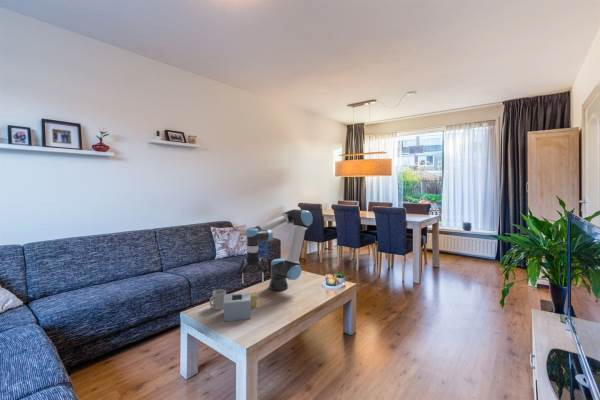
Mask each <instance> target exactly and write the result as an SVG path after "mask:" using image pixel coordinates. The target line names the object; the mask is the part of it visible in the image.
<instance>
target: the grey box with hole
mask: <svg viewBox="0 0 600 400" xmlns="http://www.w3.org/2000/svg"><path fill="white" fill-rule="evenodd" d="M251 311H252V309H251V307H250V292H249V291H248V292H235V293H226V294H224V309H223V322H232V321H242V320H244V321H245V320H251V319H252V317H251Z"/></svg>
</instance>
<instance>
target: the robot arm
mask: <svg viewBox="0 0 600 400" xmlns="http://www.w3.org/2000/svg"><path fill="white" fill-rule="evenodd" d="M313 219H314V218H313V215H312V213H311V212H310V211H309V210H306V209H290V210H288V211H285V212H283V213H281V214H280V215H279V216H276V217H274V218H272V219H270V220H268V221H265V222H263V223H261V224H258V225H256V226H254V227H247V228H246V229H245V235H246V251H247V252H246V257H247V258H242V261H241V263H240V266H239V268H238V270H237V274H240V279H241V281H242V282H241V283H242V284H244V272H245V271H246V270H247V268H249V266H252V267H253V266H257V267H258V268H259V269H260V270H261V274H262V275H261V276H262V277H261V278H262V280H261V282H262V283H265V281H264V279H265V277H266V273H268V272H269V270H268V268H267V265H266V264H265V261H264V258H263V257H261V258H259V243H260V242H266V241H270V240H272V239H273V237H274V235H273V234H274V233H273V230H276V229H277V228H279V227H282V226H284V225H285V226H288V225H289V224H290V225H291V224H293V228H294V230H293V234H292V238H291V242H290V247H289V251H288V255H287V258H274V259H272V260H271V262H270V272H271V273H270V274H271V275H270V281H269V284H268V289H269V290H270V291H273V292H274V291H275V292H282V291H286V290H287V289H289V284H288V281H287V280H291V281H296V280H298V278H300V276H301V273H302V267H301V266H300V264H301V262H300V255H301V252H302V247H303V243H304V239H305V238H304V237H305V233H306V230H308V229H309V226H311V225H312V224H313ZM259 262H261V264H262V265H261V264H260V263H259ZM245 263H246V265H245V266H244V264H245ZM243 266H244V267H243ZM263 267H264V268H263Z"/></svg>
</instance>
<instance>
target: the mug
mask: <svg viewBox="0 0 600 400" xmlns="http://www.w3.org/2000/svg"><path fill="white" fill-rule="evenodd" d="M226 292H227V291H226V289H223V288H221V289H216V290H213V292H212V296H211V297H210V298H209V306H210V307H211V308H213V310H215V311H221V310H224V294H227V293H226Z"/></svg>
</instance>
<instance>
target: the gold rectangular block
mask: <svg viewBox="0 0 600 400" xmlns="http://www.w3.org/2000/svg"><path fill="white" fill-rule="evenodd" d="M249 294H250V309H253V308H257V307H258V306H257V299H258V298H257V297H258V296H257V293H256V292H249Z"/></svg>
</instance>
